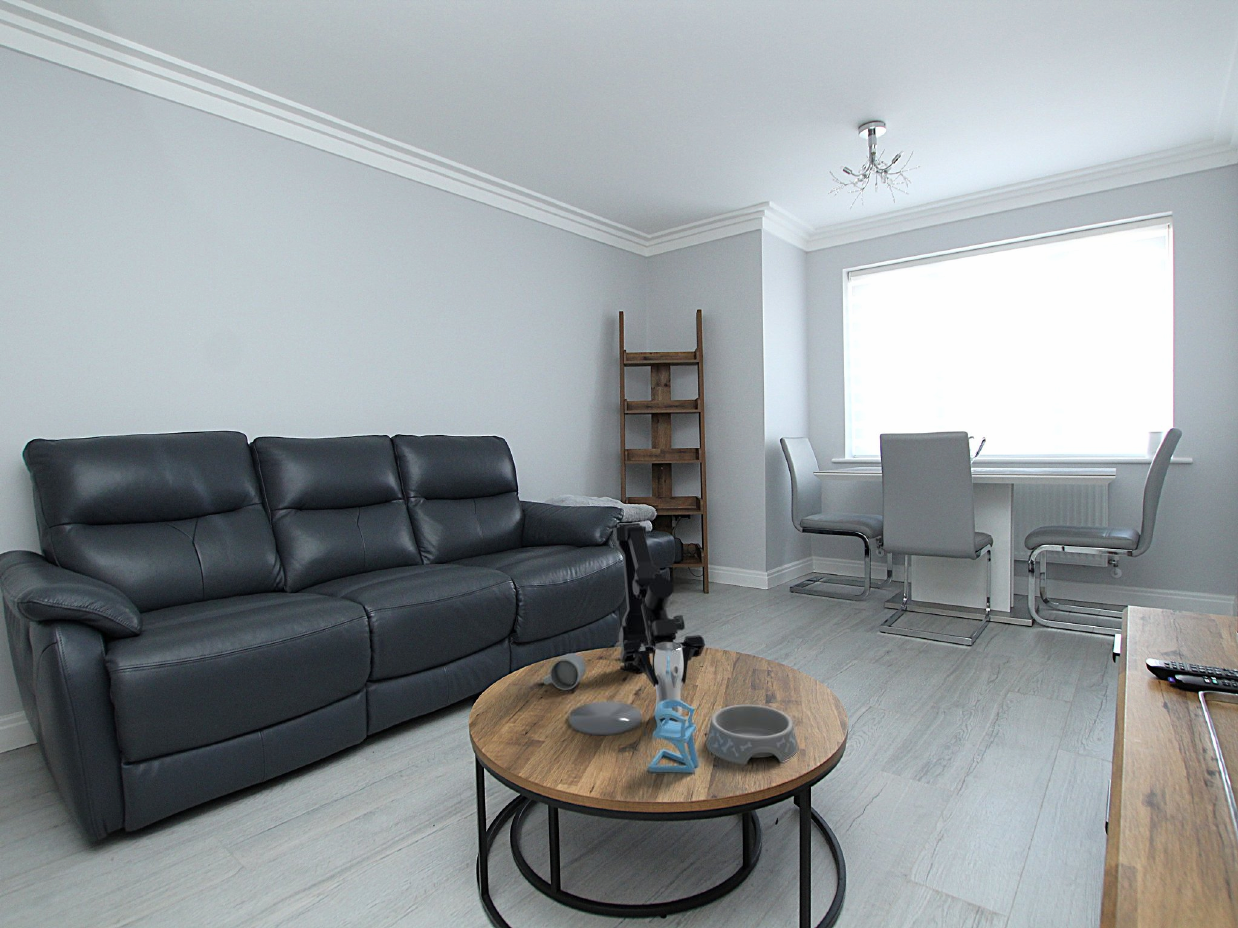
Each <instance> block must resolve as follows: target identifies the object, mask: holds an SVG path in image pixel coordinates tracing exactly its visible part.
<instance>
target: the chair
mask: <svg viewBox="0 0 1238 928" xmlns="http://www.w3.org/2000/svg"><path fill="white" fill-rule="evenodd" d="M675 706H679V707H682V709H684V710H686V711H687V712H688V713H689V715H688V718H686V717H683V716H682V715H679V714H678V713H676V712H675V711H673V710H670V709H669V708H672V707H675ZM695 710H696V708H695V707H692V706H690V705H689V704H687V703H685V702H684V701H682V700H681V701H678V700H665V701H662V702H660V703H659V704H658V706H657V708H656V710H654V718H655V721H656V726H657V727H656V729H654V731H653V732H652V738H654V739H658V740H659V739H661V740H664V741H666V742H669V743H671V744H672V745H673V746H674V747H675V748H676V749H677V751H678V753H679V754H678V753H677V752H673V751H671V750H667V749H663V748H662V749H661V750H659V752H658V754H656V756H655V757H654V758H653V760H652V761H651V762H650V763H649V764H648V766H647V767H648V771H649V772H652V773H654V772H655V773H683V774H684V773H686V774H687V773H689V774H695V773H696V770H695V768H699V767H700V765H699V760H698V759H699V758H698V755H697V751H696V745H695V741H694V733H695V731H696V730H697V724H694V723H693V717H694V712H695ZM661 719H663V720H662V721H661ZM670 719H673V720H670ZM674 720H676V721H674ZM685 745H687V748H688V749H686V746H685ZM687 750H688V751H687ZM662 757H668V758H670V759H672V760H675V761H677V762H679V763H683V764H685V765H683V764H681V765H680V764H679V765H677V764H676V765H675V764H674V765H671V764H670V765H667V764H666V765H658V763H659V761H660V760H661V759H662Z"/></svg>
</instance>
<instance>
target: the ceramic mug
mask: <svg viewBox="0 0 1238 928" xmlns="http://www.w3.org/2000/svg"><path fill="white" fill-rule="evenodd" d="M586 669H587V665H586V662H585V660H584V658H583V657H582V656H581V655H579V654H577V653H575V652H573V653H566V654H565V655H563V656H562V657H561V658H559V659H557V660H556V661H554V663H553V664H552V666H551V667H550V670H549V674H548V675H546V676H544V677H543V678H542V682H543V684H544V685H549V684H553V685H554V686H555V687H556V688H557V689H558V690H559V689H560V690H563V691H569V690H572V689H574V688H575V687H576V686H577V685H578V684H579V682H580V681H581V680H582V679H583V677H585V675H586V674H585V673H586Z"/></svg>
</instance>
